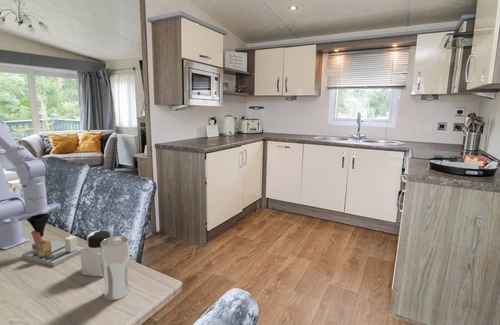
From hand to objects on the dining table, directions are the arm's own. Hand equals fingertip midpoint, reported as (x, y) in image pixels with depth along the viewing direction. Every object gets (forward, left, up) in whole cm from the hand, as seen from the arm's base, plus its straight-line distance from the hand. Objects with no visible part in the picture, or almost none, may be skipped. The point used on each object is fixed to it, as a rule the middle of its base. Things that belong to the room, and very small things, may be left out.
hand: (39, 236), depth 91 cm
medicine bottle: (+25, 0, -7) cm, 26 cm away
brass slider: (+5, -2, -5) cm, 7 cm away
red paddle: (-1, 0, -4) cm, 4 cm away
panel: (+4, +1, -6) cm, 8 cm away
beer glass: (+38, -7, -6) cm, 40 cm away
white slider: (+9, +3, -5) cm, 11 cm away
